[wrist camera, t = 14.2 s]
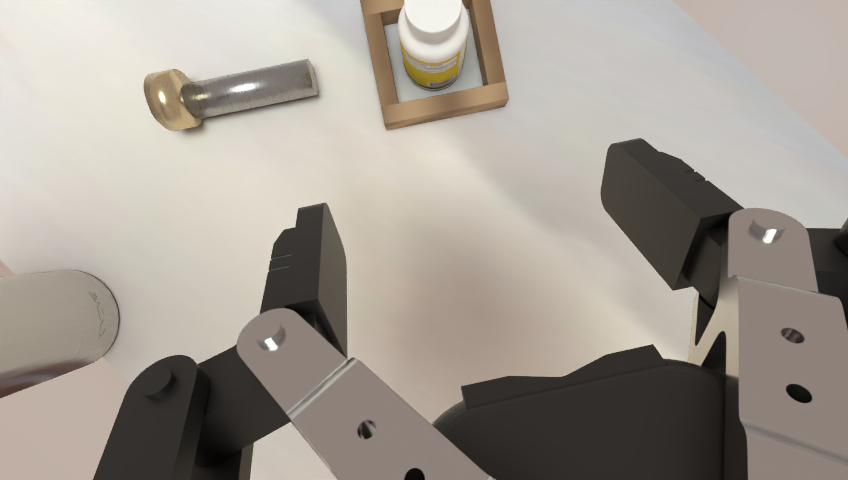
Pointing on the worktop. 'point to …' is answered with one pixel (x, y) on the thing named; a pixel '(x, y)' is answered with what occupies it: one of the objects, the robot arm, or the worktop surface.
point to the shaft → (224, 92)
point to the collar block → (384, 8)
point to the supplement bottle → (433, 41)
